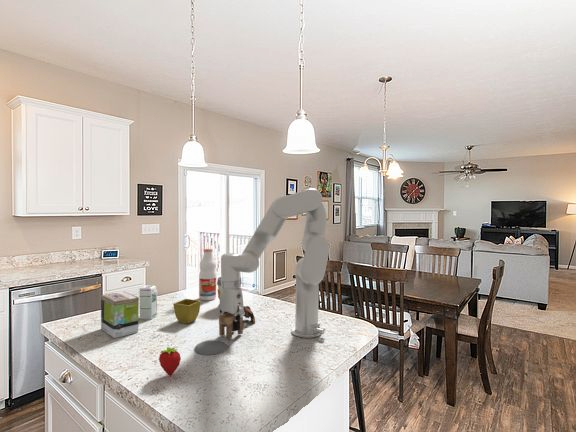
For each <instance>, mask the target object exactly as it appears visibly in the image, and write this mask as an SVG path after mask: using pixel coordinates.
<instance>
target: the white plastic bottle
mask: <svg viewBox="0 0 576 432" xmlns="http://www.w3.org/2000/svg"><path fill="white" fill-rule="evenodd" d="M213 252H214V251H213V248H204V249H203V255H202V259H201V260H200V262H199V268H200V269H199V270H200V271H199V275H198V300H199V301H204V302H205V301H213V300H215V299H216V298H217V271H216V268H217V262H216V261H215V258H214V256H213Z"/></svg>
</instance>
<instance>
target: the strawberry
mask: <svg viewBox="0 0 576 432" xmlns="http://www.w3.org/2000/svg"><path fill="white" fill-rule="evenodd" d="M166 345H167V346H168V347H166V349H164V350H160V352H159V357H158V361H159V363H160V364H159V365H160V367H161V368H162V369H163V371H164V372H165V373H166V374H167V375H168V376H169V377H171V376H172V375H174V373H175V371H177V369H178V367H179V366H180V363H181V360H182V359H181V358H182V357H181V354H180V353H179V351H178V349H177V346H174V347H171V346H170V345H169V344H166Z"/></svg>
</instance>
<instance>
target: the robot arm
mask: <svg viewBox="0 0 576 432" xmlns="http://www.w3.org/2000/svg"><path fill="white" fill-rule="evenodd" d="M301 214H305V226H304V230H303V234H302V235H303V236H302V239H301V240H302V241H301V247H302V250H303V251H304V254H303V257H302V258H299V260H297V262H296V265H295V269H294V270H295V273H294V275H295V315H294V316H295V323H294V324H295V325H294V326H292V327H291V333H292V334H293V336H296V337H299V338H304V339H305V338H306V339H309V338H310V339H311V338H316V337H319V336H320V335H325V331H326V327H321V322H319V291H320V290H319V288H320V287H319V284H320V283H321V282H322V280H323V279H324V277H325V275H326V271H327V269H326V268H327V264H328V261H329V260H328V259H329V254H330V243H329V240H328V238H327V237H326V236H325V233H326V228H327V227H326V226H327V211H326V207H325V205H324V203H323V195H322V193H321V192H320V190H318V189H317V188H314V187H313V188H311V187H310V188H306V189H303V190H300V191H298V192H294V193H291V194H287V195H283V196H279V197H276V198H275V199H273V201H272V202H271V204H270V205H269V208H268V209H267V211H266V212H265V214H264V216H263V218H262V219H261V221H260V223H259V225H258V226H257V228H256V229H255V230H254V233H253V234H252V236H251V238H250V239H249V241H248V243H247V244H246V246H245V247H244V249H243V251H242V253H241V254H239V253H236V252H235V253H230V252H228V253H224V254H222V255H221V257H220V277H221V290H220V300H219V304H218V305H217V309H218V310H219V313H220V315H222V314H225V313H230V314H233V318H234V321H233V331H234V332H238V331H237V330H240V320H241V318H242V317H243V318H244V314H245V312H244V310H243V309H244V307H243V306H244V297H243V289H242V288H241V287H240V277H241V273H249V274H251V273H254V272H255V271H257V270H258V269H259V266H260V261H259V260H260V258H261V256H262V254H263V252H264V251H265V250H266V248H267V247H268V245H269V244H270V243H272V242H273V241H274V240H275V239H276V238H277V236H278V234H279V233H280V230H281V229H282V228H283V225H284V224H285V223H286V221H287V219H288V218H291V217H296V216H298V215H301ZM236 311H237V313H236ZM236 314H237V317H236ZM225 328H226V325H225Z"/></svg>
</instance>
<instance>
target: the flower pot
mask: <svg viewBox="0 0 576 432" xmlns="http://www.w3.org/2000/svg"><path fill="white" fill-rule="evenodd" d="M201 302H202V300H200V299H197V300H196V299H191V298H184V299H181V300H179V301H176V302H174V303H173V310H174V316H175V318H176V319H177V321H178V322H179V323H183V324H190V323H192V322H194V321H196V320H197V318H198V316H199V314H200V310H201Z"/></svg>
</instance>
